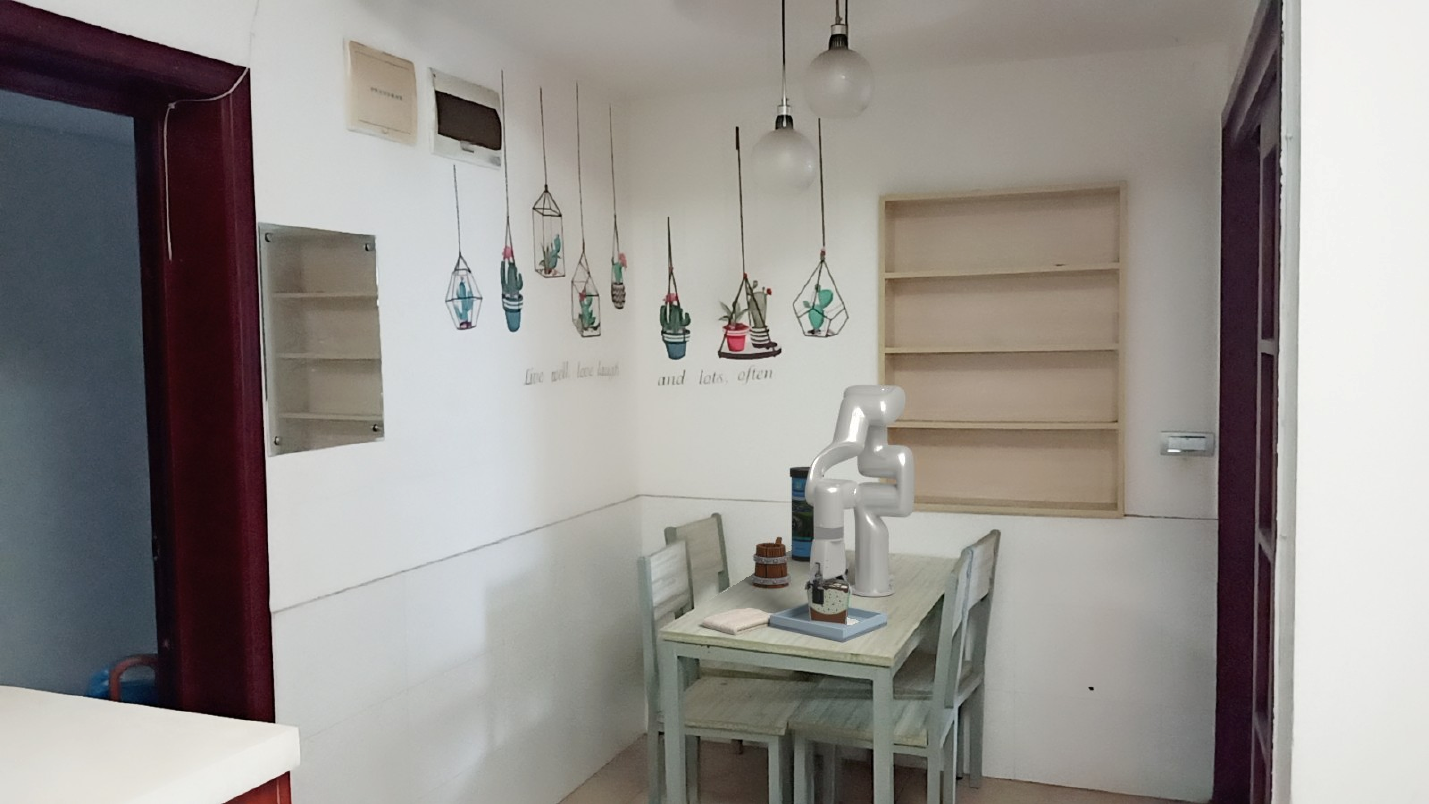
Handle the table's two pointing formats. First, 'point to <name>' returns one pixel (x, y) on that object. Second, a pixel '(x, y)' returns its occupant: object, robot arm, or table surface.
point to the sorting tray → (800, 623)
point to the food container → (830, 602)
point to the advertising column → (801, 516)
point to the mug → (771, 565)
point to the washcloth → (738, 621)
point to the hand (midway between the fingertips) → (829, 599)
